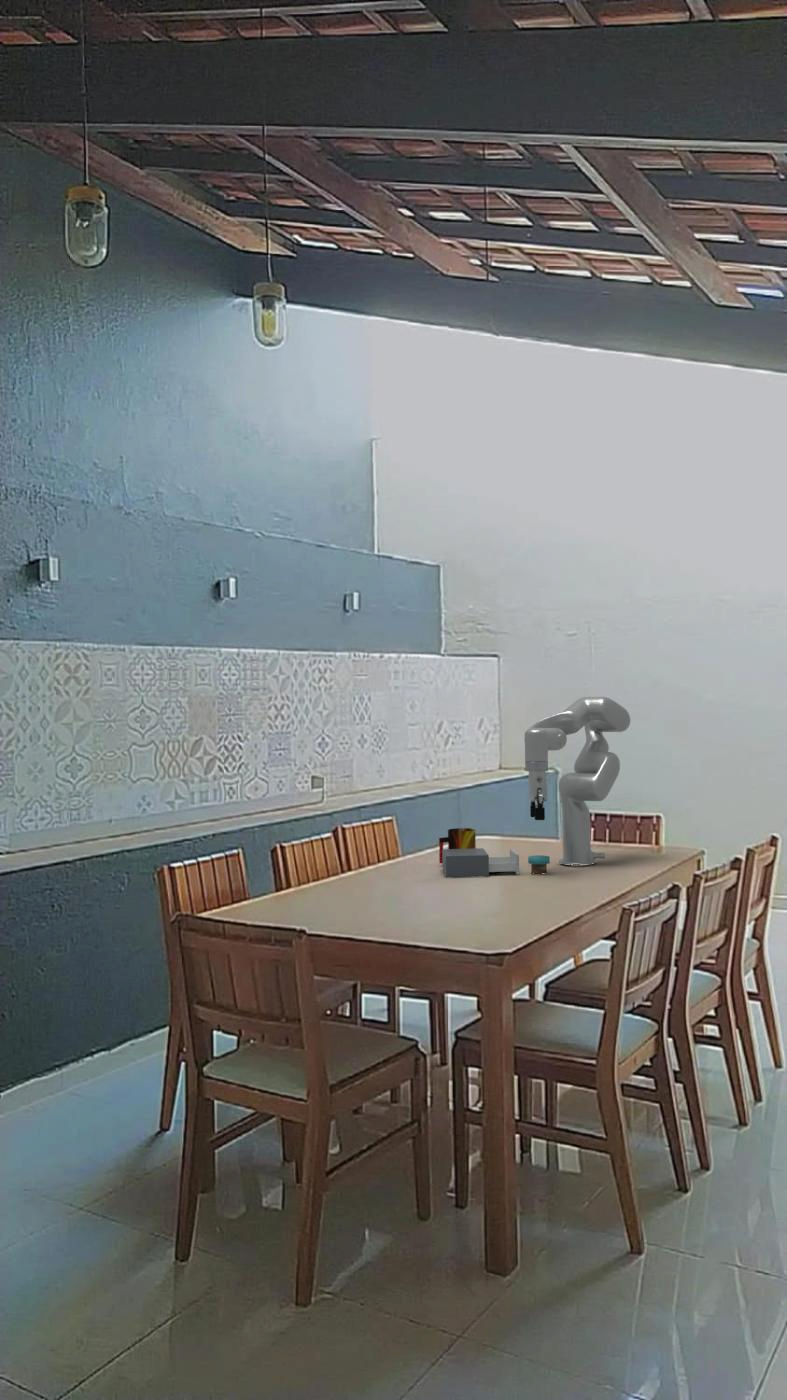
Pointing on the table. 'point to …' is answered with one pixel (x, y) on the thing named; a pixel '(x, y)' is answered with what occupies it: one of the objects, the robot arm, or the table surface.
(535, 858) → the disc
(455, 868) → the housing
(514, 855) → the grey drawer
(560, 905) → the table surface
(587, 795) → the robot arm
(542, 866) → the brown short rounded cylinder
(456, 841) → the mug
